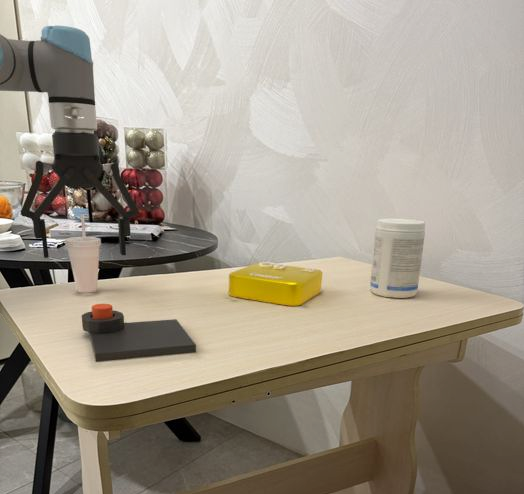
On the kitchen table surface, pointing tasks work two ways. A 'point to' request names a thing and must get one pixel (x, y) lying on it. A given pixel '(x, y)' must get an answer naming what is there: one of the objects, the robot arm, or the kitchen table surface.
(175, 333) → the scale
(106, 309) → the scale button
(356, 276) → the kitchen table surface
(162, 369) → the kitchen table surface
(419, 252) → the supplement tub
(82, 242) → the smoothie
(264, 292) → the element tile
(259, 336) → the kitchen table surface
